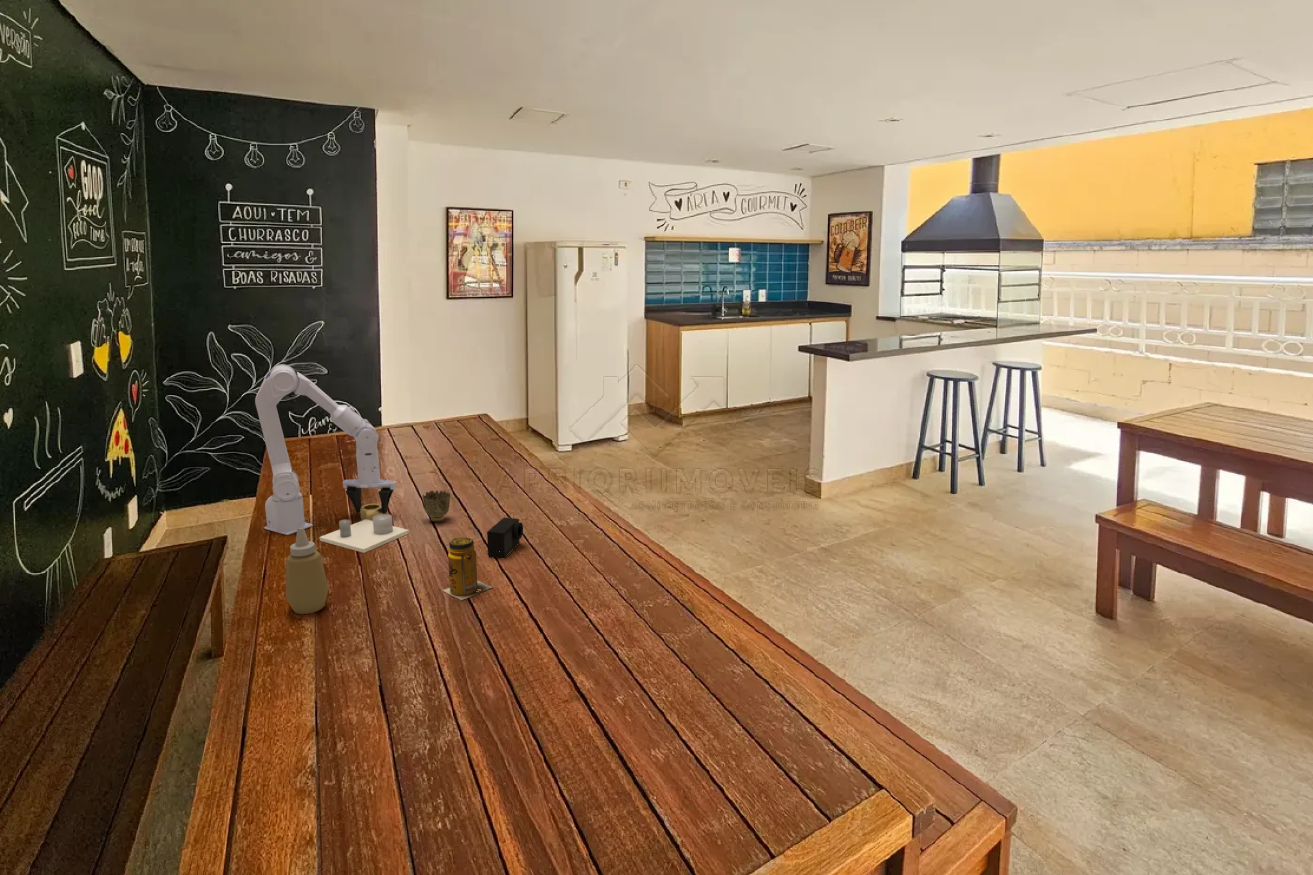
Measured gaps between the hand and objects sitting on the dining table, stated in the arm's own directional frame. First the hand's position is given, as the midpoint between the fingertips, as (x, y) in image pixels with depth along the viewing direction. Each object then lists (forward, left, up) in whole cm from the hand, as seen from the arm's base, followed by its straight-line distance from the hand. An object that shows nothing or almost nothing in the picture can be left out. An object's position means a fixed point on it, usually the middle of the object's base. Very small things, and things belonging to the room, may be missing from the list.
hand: (371, 512), depth 203 cm
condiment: (+54, -22, -2) cm, 58 cm away
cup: (+18, +7, -2) cm, 19 cm away
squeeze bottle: (+31, -45, -2) cm, 55 cm away
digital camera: (+48, 0, -2) cm, 48 cm away
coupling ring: (0, 0, -1) cm, 1 cm away
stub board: (+10, -12, -1) cm, 15 cm away
